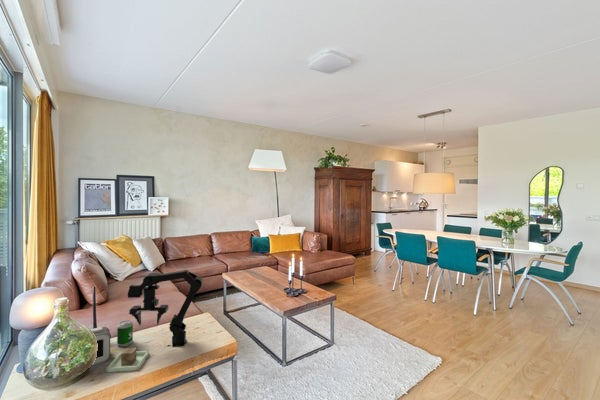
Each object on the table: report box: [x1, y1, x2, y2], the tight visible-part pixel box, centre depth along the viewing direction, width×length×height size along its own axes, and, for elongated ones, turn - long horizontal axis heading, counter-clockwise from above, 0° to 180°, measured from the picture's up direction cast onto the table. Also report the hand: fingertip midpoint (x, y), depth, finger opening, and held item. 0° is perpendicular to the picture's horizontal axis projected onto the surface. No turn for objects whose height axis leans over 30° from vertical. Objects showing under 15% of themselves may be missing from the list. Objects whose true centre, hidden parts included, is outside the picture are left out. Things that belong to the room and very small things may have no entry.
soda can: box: [116, 320, 134, 347], centre depth 160 cm, size 8×8×12 cm
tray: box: [105, 350, 150, 373], centre depth 142 cm, size 14×14×2 cm
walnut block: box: [121, 347, 138, 366], centre depth 142 cm, size 5×5×6 cm
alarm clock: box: [89, 326, 111, 366], centre depth 144 cm, size 16×11×16 cm
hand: (149, 324), depth 158 cm, fingers open, 9 cm apart
